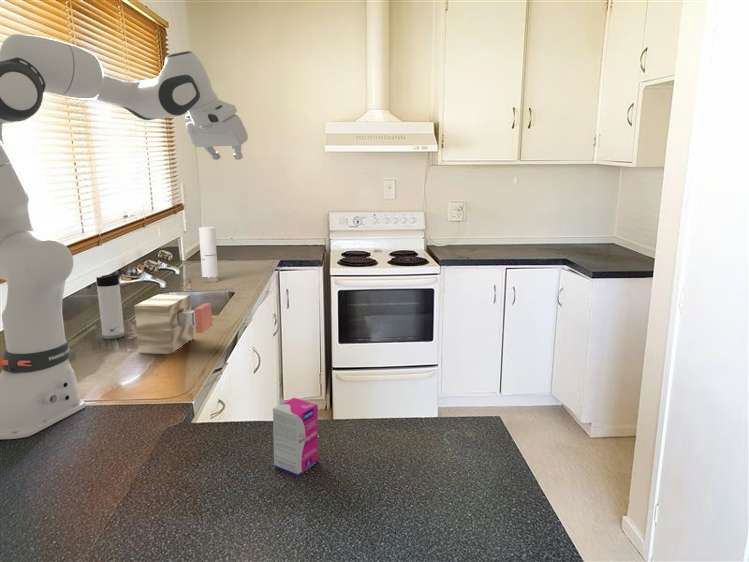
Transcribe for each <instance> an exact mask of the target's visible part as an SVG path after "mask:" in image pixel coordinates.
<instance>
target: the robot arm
mask: <svg viewBox="0 0 749 562" xmlns="http://www.w3.org/2000/svg"><path fill="white" fill-rule="evenodd" d="M44 93H47V94H51V95H54V96H55V95H56V96H59V97H64V98H70V99H75V100H96V101H99V102H103V103H105V104H111V105H114V106H117V107H120V108H123V109H126V111H128V112H130V113H131V114H132V115H134V116H135V117H137V118H139V119H141V120H142V121H143V120H144V121H152V120H156V119H157V120H158V119H165V118H166V119H167V118H175V117H176V118H177V117H181V116H182V115H185V114H186V113H187V114H186V115H185V117H184V122H185V128H186V131H187V134H188V136H189V139H190V141H191V143H192V145H194V146H195V147H196V148H204V150H205V151H206V152H207V153H208V154H209V155H210V156H211V159H213V161H218V160H219V159H221V154H220V153H219V151H217V150H216V149H215V148H214V147H232V150H234V153H233V157H234V160H236V161H238V160H239V161H240V160H242V159H243V157H244V156H243V153H242V146H243V144H245V143H246V142H247V141H248V139H249V136H248V135H249V134H248V132H247V129H246V127H245V125H244V123H243V121H242V119H241V118H240V116H239V115H238V114H237V112H238V109H237V107H236V106H235V105H234V104H232V103H229V102H225V101H223V100H221V99H219V97H218V95H217V94H216V92H215V91H214V90H213V88H212V84H211V81H210V77H209V75H208V73H207V71H206V69H205V67H204V66H203V64H202V62H201V60H200V59H199V57H198V56H197V55H196V53H194V52H193V51H189V50H188V51H180V52H176V53H175V52H174V53H171V54H169V55H167V56H166V57H165V58H164V65H163V67H162V69H161V71H160V73H159V74H158V76H157V77H155V78H150V79H138V80H134V81H126V80H122V79H120V78H117V77H113V76H110V75H106V74H104V69H103V65H102V64H101V62H100V60H99V58H98V57H97V56H96V55H95V54H94V53H92V52H91V51H88V50H86V49H84V48H83V47H80V46H77V45H74V44H71V43H67V42H64V41H62V40H58V39H54V38H48V37H45V36H39V35H34V34H33V35H32V34H24V33H23V34H22V33H14V34H11V35H9V36H7V37H6V38H5V39H4V41H3V42H2V44H1V46H0V280H4V281H5V282H6V283H7V295H6V296H7V297H6V303H5V307H4V309H3V310H2V314H1V320H2V321H1V322H2V328H3V334H4V340H5V341H4V342H5V348H6V349H5V350H4V352H3V353H4V354H3V357H1V358H0V369H1V370H2V371H1V372H0V440H13V439H14V440H15V439H22V438H28V437H30V436H32V435H35V434H36V433H39V432H40V431H42V430H44V429H46V428H48V427H50V426H53V425H54V424H56V423H58V422H59V421H61V420H64V419H65V418H67V417H69V416H71V415H73V414H75V413H78V412H79V411H81V410H83V409H85V408H86V406H87V405H86V402H85V400H84V399H82V397H81V393H80V388H79V385H78V381H77V380H78V379H77V377H76V372H75V370H74V369H73V367H72V365H71V363H70V361H69V358H70V346H69V341H68V340H67V339H66V335H65V333H66V332H65V326H64V325H65V324H64V316H63V299H64V292H65V285H66V281H67V279H68V278H69V277H70V275H71V274H72V272H73V269H74V257H73V254H72V252H71V250H70V249H69V248H68V246H67V245H65V244H64V243H63V242H61V241H60V240H58V239H56V238H55V237H53V236H50V235H46V234H41V233H37V232H35V230H34V228H33V226H32V223H31V218H30V214H29V209H28V207H29V205H28V204H29V199H30V198H29V195H28V192H27V190H26V189H25V187H24V184H23V182H22V180H21V178H20V175H19V173H18V172H17V169H16V167H15V165H14V163H13V161H12V158H11V156H10V154H9V153H8V151H7V149H6V147H5V145H4V144H5V143H4V139H3V134H2V133H3V127H4V125H6V124H13V123H15V122H16V123H18V122H23V121H27V120H28V119H31V117H33V116H35V114H37V112H38V111H39V109H40V108H41V106H42V103H43V99H44Z"/></svg>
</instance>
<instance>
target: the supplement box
mask: <svg viewBox="0 0 749 562" xmlns="http://www.w3.org/2000/svg"><path fill="white" fill-rule="evenodd" d="M318 408H319V407H318V404H317V403H312V402H309V401H306V400H303V399H299V398H296V397H293V398H290V399H289V400H286V401H285V402H283V403H281V404H279V405H277V406H275V407H273V408H272V422H273V423H272V424H273V425H272V428H273V429H272V430H273V432H272V433H273V468H274V467H276V468H278V469H280V470H279V471H281V470H283V471H282V472H284V471H285V472H284V473H286V472H287V474H289V473H290V474H289V475H291V474H292V475H291V476H295V477H297V476H298V477H300V476H301V475H302V474H303V473H305V472H307V470H309V469H310V468H312V467H313V466H315V465H316V464H318V462H319V459H318V457H319V456H318V452H319V449H318V448H319V447H318V446H319V443H318V442H319V440H318V439H319V438H318V437H319V434H318V433H319V432H318V429H319V428H318V427H319V426H318V425H319V424H318V423H319V422H318V421H319V418H318V417H319V416H318V414H319V413H318V411H319V409H318ZM314 464H315V465H314ZM276 468H275V469H276ZM278 469H277V470H278Z"/></svg>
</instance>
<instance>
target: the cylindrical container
mask: <svg viewBox="0 0 749 562" xmlns="http://www.w3.org/2000/svg"><path fill="white" fill-rule="evenodd" d="M198 235H199V236H198V237H199V252H200V253H199V255H200V266H201V267H200V268H201V278H202V277H208V278H209V277H216V276H218V277H219V271H218V270H219V269H218V267H219V266H218V255H217V238H216V237H217V236H216V227H215V226H200V227H198Z"/></svg>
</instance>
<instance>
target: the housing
mask: <svg viewBox="0 0 749 562" xmlns="http://www.w3.org/2000/svg"><path fill="white" fill-rule="evenodd" d="M191 301H192V300H191V295H190V294H164V293H159V294H156V295H154V296H152V297H150V298H148V299H145V300H143V301H141V302H139V303H137V304H134V306H133V307H134V315H135V316H134V317H135V328H136V329H135V330H136V337H137V349H138V354H156V355H157V354H158V355H161V354H162V355H163V354H164V355H173V354H174V353H176V352H177V351H178V350H177V349H179V348H180V347H181V348H183V347H184V346H185V345H184V344H185V343H187V342H188V341H189V340H191V339H192V338H193V339H194V331H193V329H194V328H193V325H188V324H178V318H177V312H178V311H180V310H192V303H191ZM191 341H192V340H191ZM188 343H189V342H188ZM188 343H187V344H188ZM183 345H184V346H183ZM182 346H183V347H182ZM181 348H180V349H181ZM180 349H179V350H180ZM176 350H177V351H176ZM175 351H176V352H175ZM173 352H174V353H173ZM170 353H171V354H170ZM172 353H173V354H172Z"/></svg>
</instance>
